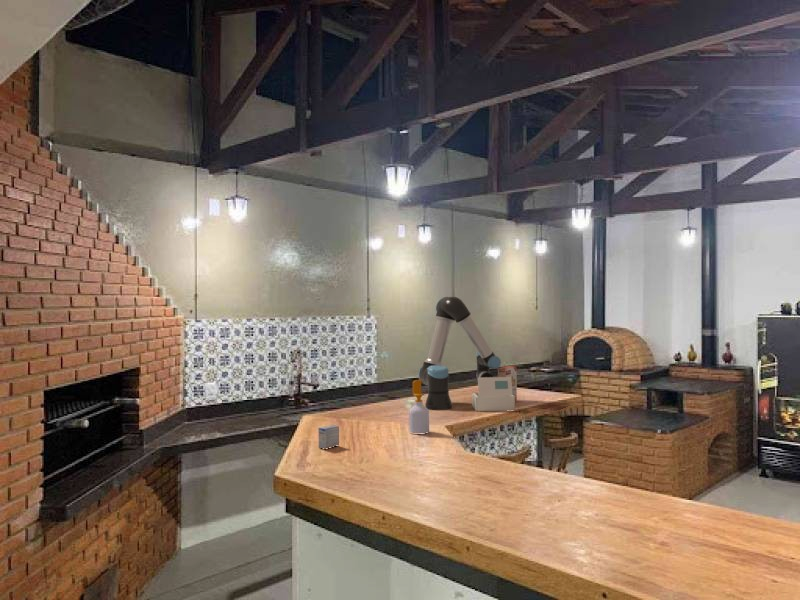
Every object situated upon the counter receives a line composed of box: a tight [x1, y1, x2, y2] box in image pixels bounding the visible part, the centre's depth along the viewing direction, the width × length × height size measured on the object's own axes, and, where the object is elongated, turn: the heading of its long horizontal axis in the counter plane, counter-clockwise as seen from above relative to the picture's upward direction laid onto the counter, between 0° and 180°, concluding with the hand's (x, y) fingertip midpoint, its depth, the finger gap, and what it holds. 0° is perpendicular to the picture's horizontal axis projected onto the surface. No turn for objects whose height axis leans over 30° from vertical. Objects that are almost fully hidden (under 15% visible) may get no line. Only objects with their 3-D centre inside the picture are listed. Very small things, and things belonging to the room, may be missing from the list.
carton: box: [471, 391, 516, 412], centre depth 323 cm, size 21×17×8 cm
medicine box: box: [317, 424, 340, 449], centre depth 242 cm, size 8×4×9 cm, turn 141°
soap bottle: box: [408, 379, 430, 433], centre depth 266 cm, size 9×9×25 cm
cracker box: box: [497, 365, 518, 402], centre depth 342 cm, size 14×6×21 cm, turn 143°
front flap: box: [477, 376, 513, 396], centre depth 316 cm, size 18×10×1 cm
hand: (493, 384), depth 318 cm, fingers closed
